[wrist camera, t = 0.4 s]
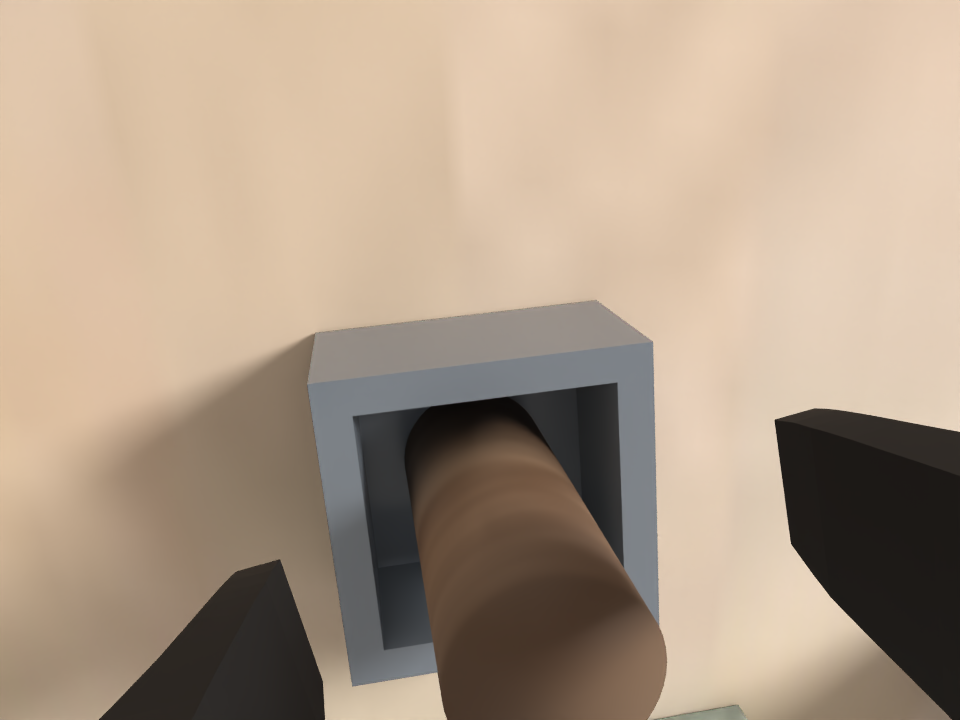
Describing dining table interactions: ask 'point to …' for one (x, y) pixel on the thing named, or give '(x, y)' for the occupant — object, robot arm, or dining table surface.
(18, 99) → the dining table surface
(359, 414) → the grey square socket
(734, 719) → the tray
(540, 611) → the dowel
